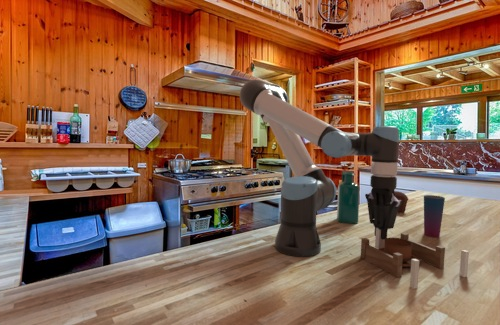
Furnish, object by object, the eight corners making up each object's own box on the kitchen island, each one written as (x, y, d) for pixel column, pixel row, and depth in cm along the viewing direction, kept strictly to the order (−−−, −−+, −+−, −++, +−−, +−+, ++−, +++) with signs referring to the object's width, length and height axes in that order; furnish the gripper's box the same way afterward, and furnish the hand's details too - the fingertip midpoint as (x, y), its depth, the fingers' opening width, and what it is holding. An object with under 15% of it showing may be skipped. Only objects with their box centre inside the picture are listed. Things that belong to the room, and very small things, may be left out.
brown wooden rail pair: (396, 277, 76) (398, 255, 75) (360, 257, 88) (361, 238, 88) (443, 267, 82) (445, 247, 81) (403, 250, 94) (404, 232, 94)
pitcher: (358, 224, 124) (360, 173, 122) (338, 222, 125) (340, 173, 124) (355, 218, 133) (357, 171, 131) (336, 216, 135) (338, 170, 133)
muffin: (384, 212, 145) (385, 192, 144) (381, 207, 155) (382, 189, 154) (410, 214, 141) (411, 194, 140) (405, 209, 152) (406, 190, 151)
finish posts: (414, 288, 70) (415, 261, 69) (409, 286, 71) (411, 259, 70) (467, 276, 76) (468, 251, 76) (462, 274, 78) (464, 249, 77)
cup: (422, 236, 109) (424, 197, 108) (420, 231, 115) (423, 194, 114) (443, 239, 106) (446, 199, 104) (441, 234, 112) (443, 196, 110)
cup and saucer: (380, 250, 95) (381, 232, 94) (422, 260, 87) (423, 240, 87) (370, 262, 85) (371, 242, 85) (416, 274, 78) (418, 252, 77)
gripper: (410, 177, 86) (405, 253, 88) (377, 172, 98) (374, 239, 100) (391, 178, 83) (387, 257, 85) (359, 173, 95) (356, 242, 97)
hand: (380, 247), depth 92 cm, fingers closed
